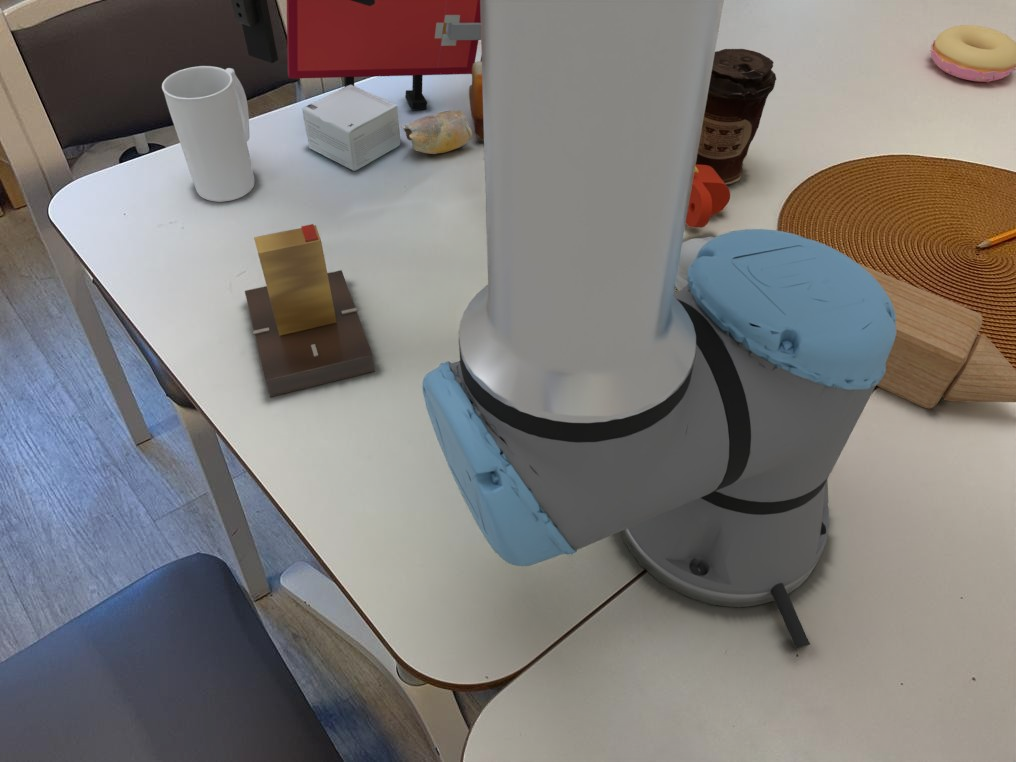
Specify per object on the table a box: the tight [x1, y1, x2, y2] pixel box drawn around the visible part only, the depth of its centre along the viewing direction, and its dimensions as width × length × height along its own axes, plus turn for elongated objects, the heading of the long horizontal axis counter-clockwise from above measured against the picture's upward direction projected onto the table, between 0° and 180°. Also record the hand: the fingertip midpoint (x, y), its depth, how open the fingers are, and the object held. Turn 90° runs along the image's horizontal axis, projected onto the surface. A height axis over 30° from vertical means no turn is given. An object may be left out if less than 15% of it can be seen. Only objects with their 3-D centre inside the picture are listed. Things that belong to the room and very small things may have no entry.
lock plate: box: [244, 269, 376, 398], centre depth 73 cm, size 12×9×2 cm
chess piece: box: [675, 237, 708, 291], centre depth 73 cm, size 5×5×9 cm
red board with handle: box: [286, 0, 482, 111], centre depth 97 cm, size 30×3×15 cm, turn 112°
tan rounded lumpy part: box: [400, 109, 474, 155], centre depth 94 cm, size 8×4×5 cm, turn 125°
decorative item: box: [857, 262, 1016, 410], centre depth 70 cm, size 7×7×20 cm
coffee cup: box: [696, 48, 777, 185], centre depth 89 cm, size 9×8×13 cm
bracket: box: [685, 164, 731, 228], centre depth 87 cm, size 12×4×5 cm
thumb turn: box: [253, 223, 336, 336], centre depth 69 cm, size 5×2×9 cm, turn 110°
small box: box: [302, 85, 401, 172], centre depth 94 cm, size 8×8×5 cm
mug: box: [161, 65, 255, 203], centre depth 87 cm, size 10×7×12 cm, turn 160°
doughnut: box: [929, 24, 1016, 84], centre depth 110 cm, size 11×11×4 cm
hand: (315, 28), depth 75 cm, fingers open, 13 cm apart
